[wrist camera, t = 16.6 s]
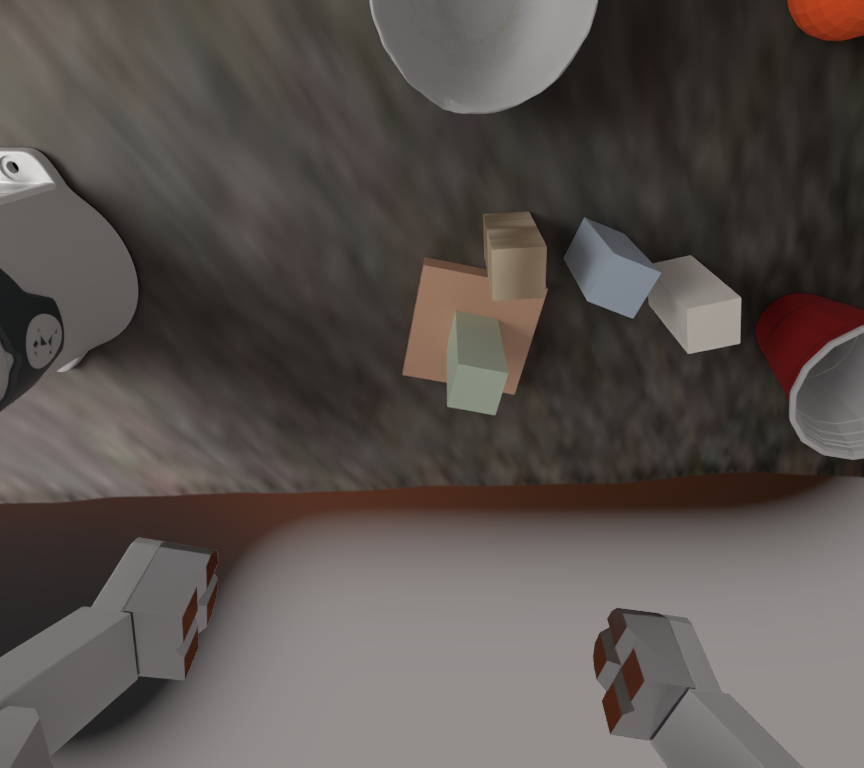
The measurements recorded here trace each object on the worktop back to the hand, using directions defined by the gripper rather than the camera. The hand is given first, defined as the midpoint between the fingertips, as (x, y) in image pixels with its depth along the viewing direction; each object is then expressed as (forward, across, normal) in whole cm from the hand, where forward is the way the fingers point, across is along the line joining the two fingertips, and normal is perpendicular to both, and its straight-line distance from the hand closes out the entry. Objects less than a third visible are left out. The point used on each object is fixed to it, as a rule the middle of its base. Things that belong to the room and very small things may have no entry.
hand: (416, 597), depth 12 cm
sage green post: (+35, -5, +10) cm, 37 cm away
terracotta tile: (+37, -5, +10) cm, 39 cm away
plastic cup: (+37, -31, +5) cm, 49 cm away
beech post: (+37, -6, +2) cm, 38 cm away
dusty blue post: (+37, -13, +2) cm, 39 cm away
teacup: (+37, 0, -14) cm, 40 cm away
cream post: (+37, -20, +3) cm, 42 cm away
